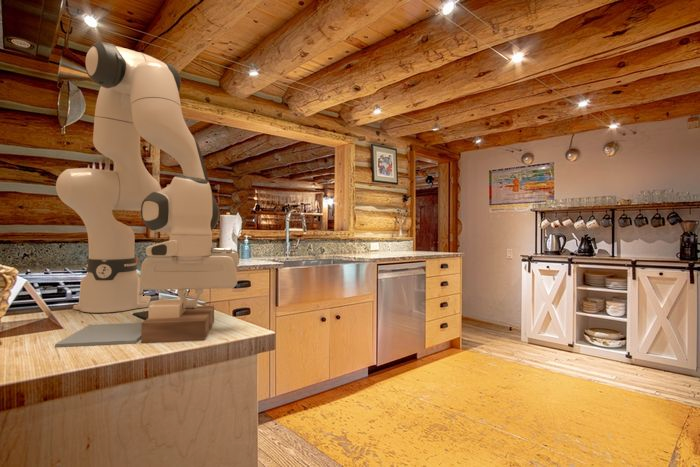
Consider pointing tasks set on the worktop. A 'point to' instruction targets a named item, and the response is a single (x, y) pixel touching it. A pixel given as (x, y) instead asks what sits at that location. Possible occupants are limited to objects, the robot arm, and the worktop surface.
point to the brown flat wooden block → (179, 326)
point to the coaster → (166, 309)
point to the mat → (104, 335)
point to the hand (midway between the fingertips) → (190, 308)
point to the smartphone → (142, 315)
